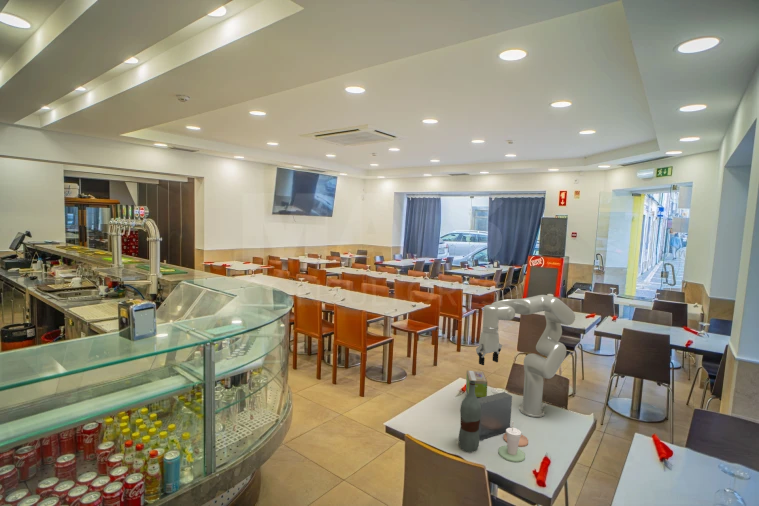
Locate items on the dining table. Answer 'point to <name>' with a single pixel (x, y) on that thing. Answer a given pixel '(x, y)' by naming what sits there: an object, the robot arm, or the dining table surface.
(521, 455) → the sage coaster
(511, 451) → the smoothie
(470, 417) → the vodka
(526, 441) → the terracotta coaster
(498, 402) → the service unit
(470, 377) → the tea box
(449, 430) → the dining table surface
